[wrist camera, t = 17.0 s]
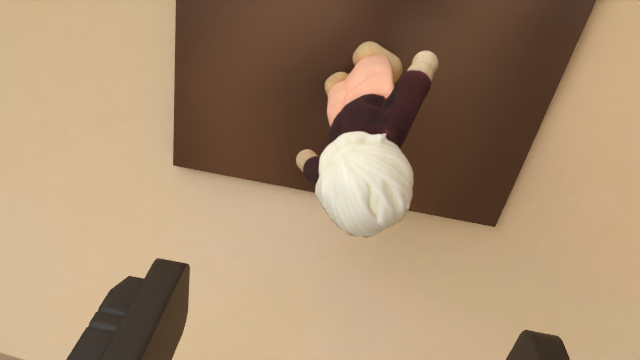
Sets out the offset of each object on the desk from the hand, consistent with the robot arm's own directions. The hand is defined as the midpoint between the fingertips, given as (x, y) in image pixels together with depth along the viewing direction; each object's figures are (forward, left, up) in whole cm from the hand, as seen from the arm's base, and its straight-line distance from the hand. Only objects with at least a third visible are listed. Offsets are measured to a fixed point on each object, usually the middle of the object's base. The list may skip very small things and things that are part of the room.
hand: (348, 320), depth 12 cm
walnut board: (0, 0, -18) cm, 18 cm away
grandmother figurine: (0, 0, -17) cm, 17 cm away
